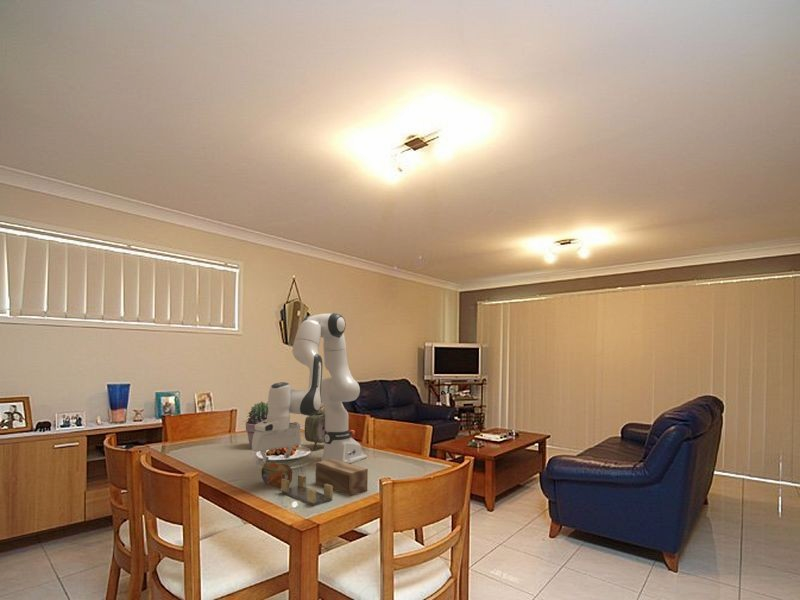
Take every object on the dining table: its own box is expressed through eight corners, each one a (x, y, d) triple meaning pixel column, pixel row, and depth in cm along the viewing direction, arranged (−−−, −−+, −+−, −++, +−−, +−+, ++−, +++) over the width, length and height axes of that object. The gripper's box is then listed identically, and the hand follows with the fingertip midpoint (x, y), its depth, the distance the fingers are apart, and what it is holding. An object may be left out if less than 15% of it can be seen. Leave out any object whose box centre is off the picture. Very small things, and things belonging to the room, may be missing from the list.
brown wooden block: (331, 478, 185) (331, 458, 186) (367, 490, 170) (367, 468, 171) (314, 483, 179) (315, 462, 180) (350, 495, 164) (350, 473, 165)
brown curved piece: (260, 482, 180) (261, 461, 180) (266, 480, 182) (267, 459, 183) (287, 489, 172) (288, 466, 173) (293, 487, 174) (294, 464, 175)
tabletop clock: (315, 451, 233) (316, 402, 235) (302, 449, 237) (303, 401, 240) (333, 446, 245) (334, 399, 248) (320, 444, 250) (321, 398, 252)
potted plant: (232, 447, 240) (234, 400, 243) (264, 442, 255) (266, 397, 258) (251, 453, 229) (252, 403, 231) (283, 446, 243) (284, 399, 246)
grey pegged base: (300, 487, 173) (300, 474, 174) (332, 500, 160) (332, 485, 160) (281, 492, 167) (281, 479, 168) (312, 506, 153) (313, 491, 154)
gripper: (295, 420, 189) (294, 454, 187) (250, 425, 174) (248, 462, 173) (304, 422, 185) (303, 457, 183) (259, 427, 170) (256, 465, 168)
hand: (276, 459), depth 178 cm, fingers open, 8 cm apart
